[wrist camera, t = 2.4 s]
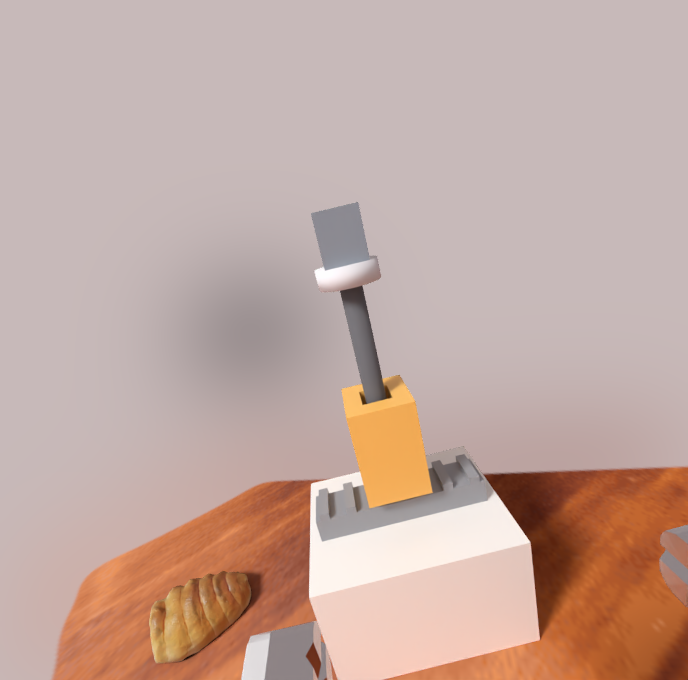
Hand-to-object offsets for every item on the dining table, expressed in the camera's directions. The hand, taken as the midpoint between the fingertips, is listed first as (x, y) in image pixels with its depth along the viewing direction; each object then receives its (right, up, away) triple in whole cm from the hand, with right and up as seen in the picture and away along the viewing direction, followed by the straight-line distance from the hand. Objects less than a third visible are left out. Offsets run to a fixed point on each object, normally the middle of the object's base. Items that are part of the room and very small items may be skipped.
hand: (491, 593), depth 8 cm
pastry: (-18, -23, +28) cm, 40 cm away
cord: (+1, -9, +23) cm, 24 cm away
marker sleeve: (+1, -6, +22) cm, 23 cm away
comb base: (+4, -18, +26) cm, 31 cm away
